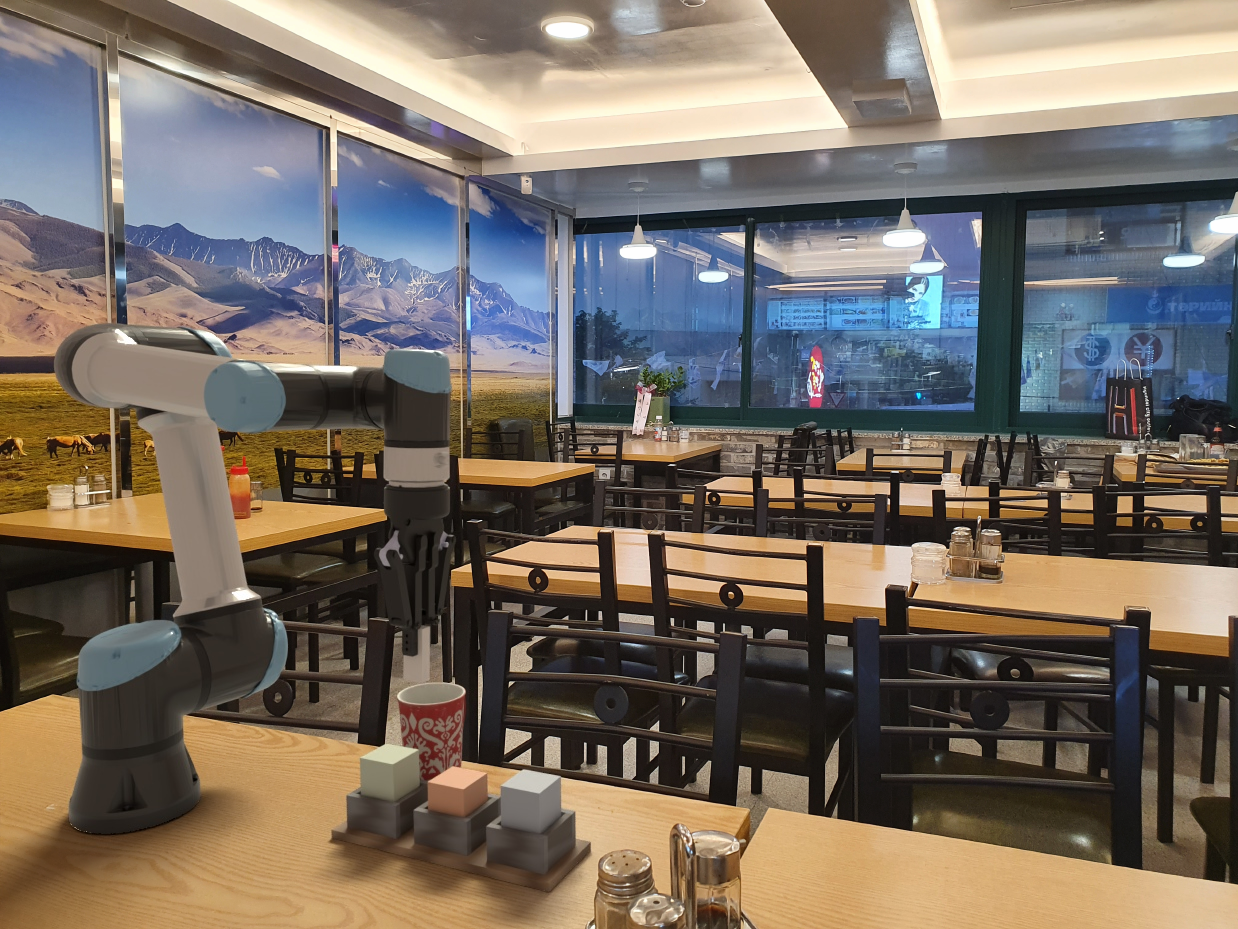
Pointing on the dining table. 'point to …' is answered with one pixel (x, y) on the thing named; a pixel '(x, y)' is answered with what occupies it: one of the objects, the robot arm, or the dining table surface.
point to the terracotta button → (457, 791)
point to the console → (464, 838)
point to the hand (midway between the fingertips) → (416, 679)
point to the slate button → (531, 801)
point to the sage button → (389, 772)
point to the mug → (433, 725)
